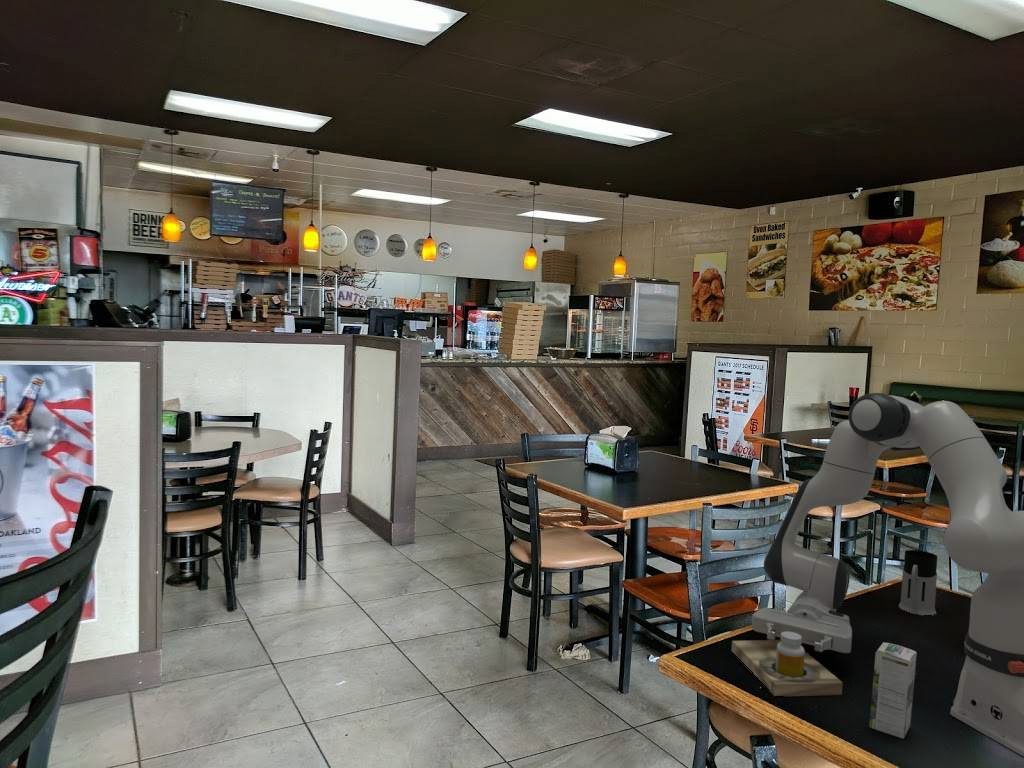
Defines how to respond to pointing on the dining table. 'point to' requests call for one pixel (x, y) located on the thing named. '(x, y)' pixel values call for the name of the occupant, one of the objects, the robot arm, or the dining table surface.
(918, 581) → the glass holder
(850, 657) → the dining table surface
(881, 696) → the syrup box
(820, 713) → the dining table surface
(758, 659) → the plate
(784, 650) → the supplement bottle
